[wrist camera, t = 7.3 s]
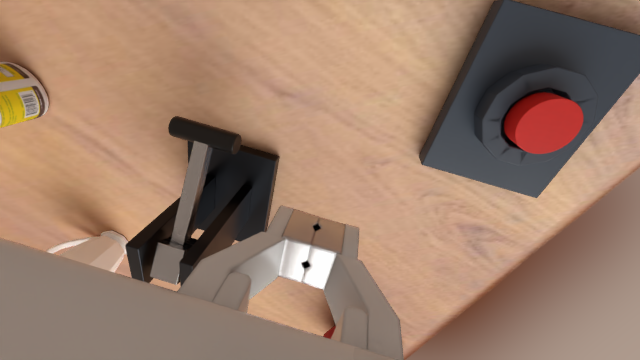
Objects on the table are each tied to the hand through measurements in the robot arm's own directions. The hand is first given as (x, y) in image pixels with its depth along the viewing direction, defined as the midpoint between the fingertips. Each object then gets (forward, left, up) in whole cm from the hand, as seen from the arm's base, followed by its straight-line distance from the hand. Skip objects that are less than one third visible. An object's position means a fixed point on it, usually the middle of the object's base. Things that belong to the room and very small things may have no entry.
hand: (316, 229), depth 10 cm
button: (-4, +12, -12) cm, 18 cm away
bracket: (+12, -10, -15) cm, 22 cm away
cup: (+27, -28, -16) cm, 42 cm away
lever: (+8, -10, -9) cm, 15 cm away
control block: (-4, +12, -15) cm, 20 cm away
